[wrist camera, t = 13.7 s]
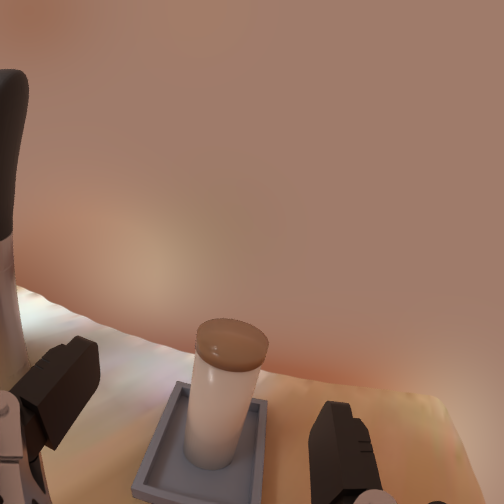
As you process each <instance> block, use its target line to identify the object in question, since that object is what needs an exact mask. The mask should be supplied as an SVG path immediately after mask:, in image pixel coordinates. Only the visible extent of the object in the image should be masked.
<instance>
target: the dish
mask: <svg viewBox="0 0 504 504" xmlns="http://www.w3.org/2000/svg"><path fill="white" fill-rule="evenodd" d="M190 388H191V384H187V383H183V382H180V381H177V382H176V385H175V387H174V389H173V391H172V394H171V396H170V398H169V400H168V403H167V405H166V407H165V410H164V412H163V414H162V416H161V419H160V421H159V423H158V426H157V428H156V430H155V433H154V435H153V437H152V440H151V442H150V444H149V446H148V449H147V451H146V453H145V456H144V458H143V460H142V463H141V465H140V468H139V470H138V472H137V475H136V477H135V479H134V482H133V484H132V486H131V490H132V495H133V497H134V498H137V499H140V500H143V501H146V502H149V503H153V504H261V495H262V481H263V467H264V452H265V436H266V419H267V401H266V400H261V399H255V398H252V399H251V402H250V406H249V409H248V412H247V415H246V419H245V422H244V425H243V428H242V431H241V435H240V438H239V441H238V444H237V447H236V450H235V453H234V456H233V459H232V461H231V463H230V464H229V465H227V466H226V467H224V468H222V469H218V470H205V469H201V468H198V467H196V466H194V465H193V464H191V463H190V462H189V461H188V460H187V458H186V457H185V455H184V452H183V444H184V436H185V427H186V419H187V411H188V403H189V396H190Z"/></svg>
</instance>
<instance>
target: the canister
mask: <svg viewBox="0 0 504 504" xmlns="http://www.w3.org/2000/svg"><path fill="white" fill-rule="evenodd" d="M268 345H269V342H268V339H267V337H266V336H265V335H264V333H263V332H262V331H260V330H259V329H258V328H256V327H254V326H252V325H250V324H248V323H245V322H242V321H238V320H233V319H212V320H209V321H206V322H204V323H203V324H201V325H200V327H199V328H198V331H197V337H196V344H195V348H196V353H195V360H194V367H193V374H192V381H191V388H190V396H189V403H188V411H187V419H186V427H185V436H184V444H183V452H184V455H185V457H186V458H187V460H188V461H189V462H190V463H191V464H193V465H194V466H196V467H198V468H201V469H205V470H218V469H222V468H224V467H226V466H227V465H229V464H230V463H231V461H232V459H233V456H234V453H235V450H236V447H237V444H238V441H239V438H240V435H241V431H242V428H243V425H244V422H245V419H246V415H247V412H248V409H249V406H250V402H251V399H252V396H253V393H254V389H255V386H256V382H257V379H258V376H259V372H260V369H261V365H262V363H263V362H264V360H265V357H266V353H267V349H268Z"/></svg>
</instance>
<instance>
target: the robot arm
mask: <svg viewBox="0 0 504 504" xmlns="http://www.w3.org/2000/svg"><path fill="white" fill-rule="evenodd" d="M28 86H29V85H28V80H27V77H26V75H25V74H24V73H23V72H22V71H20V70H15V69H1V70H0V504H52V501H51V498H50V495H49V491H48V486H47V482H46V477H45V472H44V466H43V461H42V455H41V452H40V451H41V450H42V448H43V447H44V445H45V446H47V447H49V448H51V449H52V450H54V451H55V450H56V448H57V447H58V445H59V444H60V442H61V441H62V439H63V438H64V436H65V435H66V433H67V432H68V430H69V429H70V427H71V426H72V424H73V423H74V421H75V420H76V418H77V417H78V415H79V414H80V412H81V411H82V410H83V408H84V407H85V405H86V404H87V402H88V401H89V399H90V398H91V397H92V395H93V394H94V392H95V391H96V389H97V387H98V385H99V382H100V365H99V353H98V345H97V343H96V342H93V341H91V340H88V339H85V338H83V337H80V336H76V337H74V338H73V339H72V340H71V341H70V342H69V343H68V344H67V345H64V344H61V345H58V346H56V347H54V348H52V349H50V350H49V351H48V352H47V353H46V354H45V355H44V356H43V357H42V359H40V360H39V361H38V362H37V363H36V364H35V366H33V367H32V368H31V369H30V363H29V359H28V354H27V350H26V345H25V340H24V335H23V329H22V324H21V318H20V311H19V305H18V297H17V289H16V280H15V269H14V256H13V232H12V231H13V206H14V194H15V181H16V170H17V163H18V156H19V150H20V144H21V139H22V134H23V129H24V123H25V118H26V113H27V106H28V99H29V87H28ZM308 447H309V463H310V482H311V504H397V503H396V501H395V499H394V498H393V497H392V496H391V495H390V494H388V493H387V492H385V491H383V489H382V486H381V481H380V477H379V473H378V468H377V464H376V460H375V456H374V453H373V448H372V444H371V440H370V436H369V432H368V429H367V428H366V426H365V425H364V424H363V422H362V421H361V419H359V418H353V416H352V412H351V407H350V405H349V403H343V402H334V401H327V402H326V403H325V404H324V406H323V408H322V410H321V412H320V414H319V415H318V417H317V419H316V421H315V423H314V425H313V427H312V429H311V431H310V435H309V441H308ZM429 504H446V503H444V502H441V501H434V502H431V503H429Z"/></svg>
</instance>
